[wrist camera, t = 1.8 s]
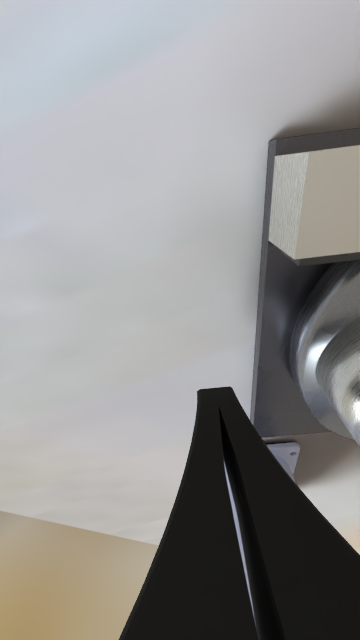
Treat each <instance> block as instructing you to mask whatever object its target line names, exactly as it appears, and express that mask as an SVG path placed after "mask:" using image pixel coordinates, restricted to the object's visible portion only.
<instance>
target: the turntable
mask: <svg viewBox="0 0 360 640" xmlns="http://www.w3.org/2000/svg"><path fill="white" fill-rule="evenodd" d="M358 318H360V260H351V261H342V262H334V263H333V264H332V265H331V266H330V268H329V269H328V270H327V271H326V272H325V273H324V274H323V276H322V277H321V279H320V280H319V281H318V283H317V284H316V286H315V287H314V289H313V290H312V291H311V293H310V294H309V296H308V298H307V300H306V302H305V304H304V305H303V307H302V309H301V311H300V313H299V316H298V318H297V321H296V323H295V326H294V329H293V333H292V337H291V341H290V350H289V362H290V370H291V373H292V377H293V380H294V382H295V384H296V385H297V387H298V389H299V391H300V393H301V394H302V396H303V398H304V400H305V401H306V403H307V405H308V407H309V408H310V410H311V412H312V414H313V415H314V416H315V417H316V419H317V420H318V421H319V422H320V423H321V424H322V425H324V426H325V427H326V428H327V429H329V430H331V431H332V432H334V433H336V434H338V435H340V436H343V437H346V438H349V439H352V440H355V439H354V438H353V436H352V435H351V433H350V432H349V430H348V429H347V427H346V426H345V425H344V423H343V422H342V420H341V419H340V417H339V416H338V414H337V413H336V411H335V410H334V408H333V407H332V405H331V404H330V402H329V401H328V399H327V398H326V396H325V395H324V393H323V392H322V390H321V389H320V387H319V385H318V383H317V381H316V373H315V371H316V365H317V362H318V359H319V357H320V355H321V353H322V351H323V350H324V348H325V347H326V345H327V344H328V343H329V342H330V341H331V339H332V338H333V337H334V336H335V335H336V334H337V333H338V332H340V331H341V330H342V329H343V328H345V327H346V326H347V325H349V324H350V323H352V322H353V321H355V320H356V319H358Z"/></svg>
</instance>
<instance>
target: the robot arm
mask: <svg viewBox="0 0 360 640" xmlns="http://www.w3.org/2000/svg"><path fill="white" fill-rule="evenodd" d="M299 452H300V447H299V444H298V443H295V442H291V443H279V444H268V445H266V444H265V443H264V441H263V440H262V438H261V437H260V435H259V434H258V432H257V431H256V429H255V428H254V426H253V425H252V423H251V421H250V420H249V418H248V417H247V415H246V413H245V412H244V410H243V408H242V406H241V405H240V403H239V401H238V399H237V397H236V395H235V393H234V391H233V389H232V388H231V387H220V388H210V389H200V390H199V391H197V413H196V420H195V426H194V431H193V437H192V442H191V446H190V450H189V454H188V458H187V462H186V466H185V470H184V474H183V477H182V481H181V484H180V487H179V490H178V494H177V497H176V500H175V503H174V506H173V509H172V511H171V514H170V517H169V520H168V523H167V526H166V529H165V531H164V534H163V537H162V539H161V542H160V544H159V547H158V549H157V552H156V554H155V557H154V559H153V562H152V564H151V567H150V569H149V572H148V574H147V577H146V579H145V582H144V584H143V586H142V589H141V591H140V593H139V596H138V598H137V600H136V602H135V605H134V607H133V609H132V611H131V614H130V616H129V618H128V620H127V622H126V625H125V627H124V629H123V631H122V634H121V636H120V638H119V640H360V555H359V554H358V553H357V552H356V551H355V550H354V549H353V548H352V546H351V545H350V544H349V543H348V542H347V541H346V540H345V539H344V538H343V537H342V536H341V535H340V533H339V532H338V531H337V530H336V529H335V528H334V527H333V526H332V525H331V524H330V523H329V522H328V520H327V519H326V518H325V517H324V516H323V515H322V514H321V513H320V512H319V511H318V509H317V508H316V507H315V506H314V505H313V504H312V502H311V501H310V500H309V499H308V498H307V497H306V496H305V494H304V493H303V492H302V491H301V490H300V488H299V487H298V486H297V485H296V482H295V480H294V477H293V474H294V470H295V467H296V463H297V459H298V456H299Z"/></svg>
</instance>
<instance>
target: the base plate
mask: <svg viewBox="0 0 360 640" xmlns="http://www.w3.org/2000/svg"><path fill="white" fill-rule="evenodd" d="M351 260H360V128H355V129H348V130H340V131H333V132H325V133H318V134H311V135H303V136H296V137H288V138H281V139H275V140H272V141H269V146H268V161H267V176H266V191H265V206H264V220H263V235H262V250H261V265H260V280H259V295H258V310H257V325H256V339H255V354H254V369H253V384H252V399H251V414H250V421H251V423H252V425H253V426H254V428H255V429H256V431H257V432H258V434H259V435H260V437H261V438H262V437H273V436H285V435H296V434H307V433H319V432H330V431H331V430H329V429H327V428H326V427H325V426H324V425H322V424H321V423H320V422H319V421H318V420H317V419H316V417H315V416H314V415H313V414H312V412H311V410H310V408H309V407H308V405H307V403H306V401H305V400H304V398H303V396H302V394H301V393H300V391H299V389H298V387H297V385H296V384H295V382H294V380H293V377H292V373H291V370H290V362H289V350H290V341H291V337H292V333H293V329H294V326H295V323H296V321H297V318H298V316H299V313H300V311H301V309H302V307H303V305H304V304H305V302H306V300H307V298H308V296H309V294H310V293H311V291H312V290H313V289H314V287H315V286H316V284H317V283H318V281H319V280H320V279H321V277H322V276H323V274H324V273H325V272H326V271H327V270H328V269H329V268H330V266H331V265H332V264H333V263H334V262H342V261H351Z"/></svg>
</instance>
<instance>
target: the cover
mask: <svg viewBox="0 0 360 640" xmlns="http://www.w3.org/2000/svg"><path fill="white" fill-rule="evenodd" d="M315 373H316V381H317V383H318V385H319V387H320V389H321V390H322V392H323V393H324V395H325V396H326V398H327V399H328V401H329V402H330V404H331V405H332V407H333V408H334V410H335V411H336V413H337V414H338V416H339V417H340V419H341V420H342V422H343V423H344V425H345V426H346V427H347V429H348V430H349V432H350V433H351V435H352V436H353V438H354V439H355V441H356V442H357V444H358V445H359V446H360V318H358V319H356V320H355V321H353V322H352V323H350V324H349V325H347V326H346V327H345V328H343V329H342V330H341V331H340V332H338V333H337V334H336V335H335V336H334V337H333V338H332V339H331V341H330V342H329V343H328V344H327V345H326V347H325V348H324V350H323V351H322V353H321V355H320V357H319V359H318V362H317V365H316V371H315Z"/></svg>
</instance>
